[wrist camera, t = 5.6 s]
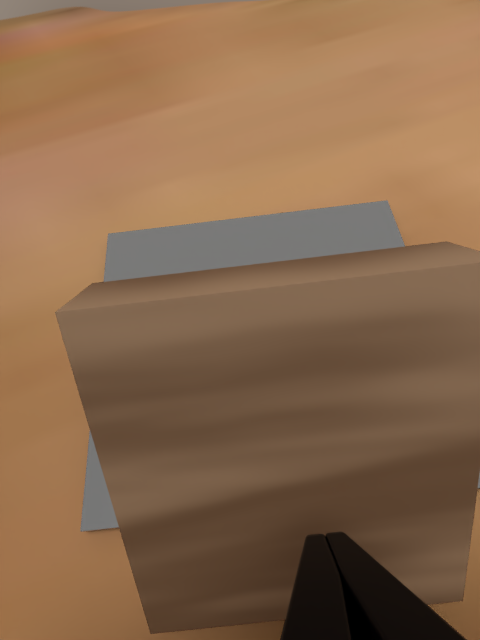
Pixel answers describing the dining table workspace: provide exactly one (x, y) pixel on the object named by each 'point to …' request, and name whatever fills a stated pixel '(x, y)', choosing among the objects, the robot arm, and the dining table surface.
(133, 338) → the walnut tile
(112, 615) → the dining table surface
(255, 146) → the dining table surface
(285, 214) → the slate board
